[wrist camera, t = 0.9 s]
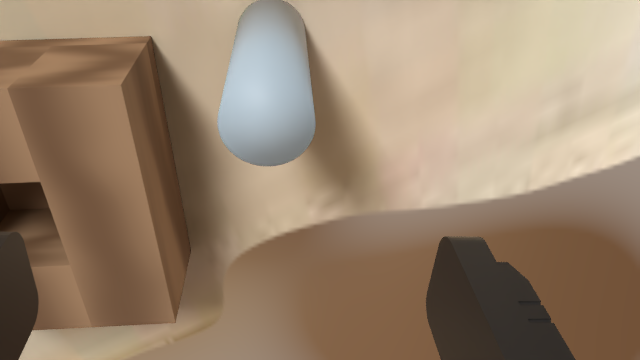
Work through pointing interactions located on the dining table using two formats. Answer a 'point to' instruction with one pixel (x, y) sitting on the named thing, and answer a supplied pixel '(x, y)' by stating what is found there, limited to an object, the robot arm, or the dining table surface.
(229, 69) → the dowel
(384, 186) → the dining table surface
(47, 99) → the socket block
